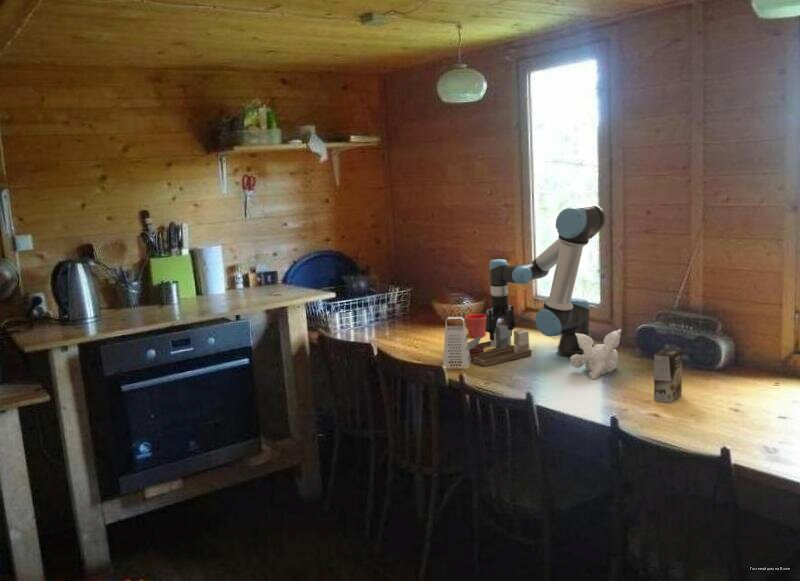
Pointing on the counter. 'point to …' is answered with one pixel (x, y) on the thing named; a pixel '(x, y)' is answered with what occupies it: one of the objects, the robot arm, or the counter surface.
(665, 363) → the coffee box
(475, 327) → the flower pot
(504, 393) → the counter surface
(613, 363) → the white sculpted figure
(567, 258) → the robot arm
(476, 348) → the canned food
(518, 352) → the lane
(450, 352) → the grater
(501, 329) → the lane
